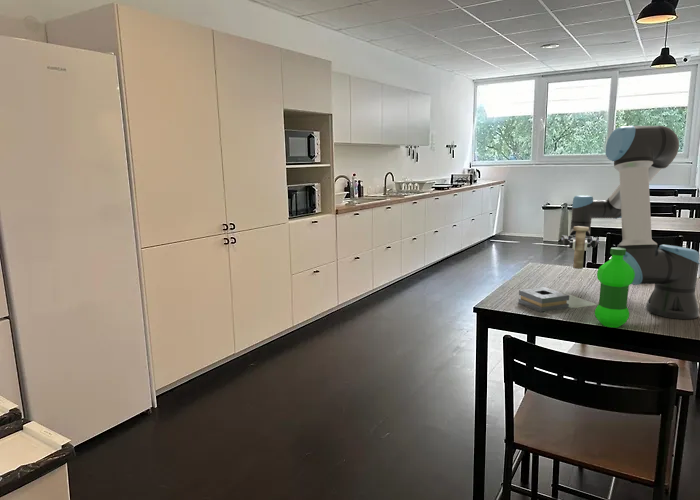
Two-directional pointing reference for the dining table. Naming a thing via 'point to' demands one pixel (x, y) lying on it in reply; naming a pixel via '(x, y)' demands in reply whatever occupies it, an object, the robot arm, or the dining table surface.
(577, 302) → the mat
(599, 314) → the plastic bottle
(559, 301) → the square socket block
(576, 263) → the pin
